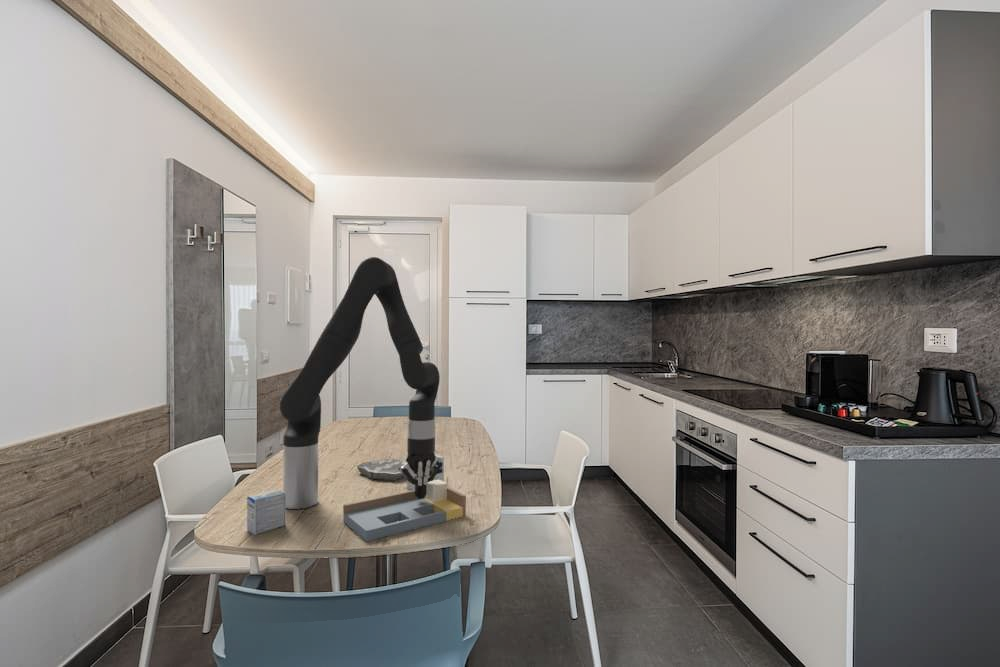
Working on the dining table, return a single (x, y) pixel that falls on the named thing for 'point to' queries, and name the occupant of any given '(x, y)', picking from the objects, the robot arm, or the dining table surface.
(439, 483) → the ivory block
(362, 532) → the trap deck
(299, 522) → the dining table surface
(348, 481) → the dining table surface
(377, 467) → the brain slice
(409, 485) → the light bulb box
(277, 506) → the medicine box
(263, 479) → the dining table surface
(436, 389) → the robot arm
